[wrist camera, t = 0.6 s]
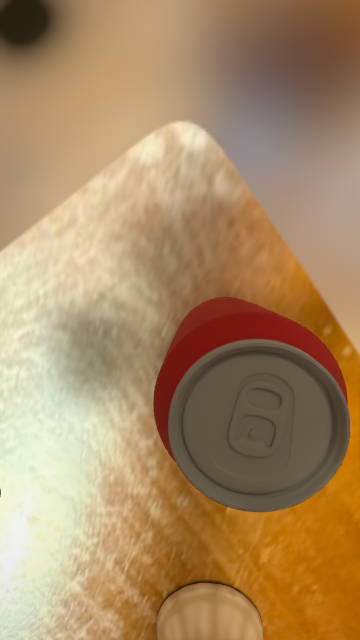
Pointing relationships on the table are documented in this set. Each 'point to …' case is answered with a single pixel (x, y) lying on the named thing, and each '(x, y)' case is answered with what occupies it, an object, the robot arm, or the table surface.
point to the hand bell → (208, 615)
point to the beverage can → (251, 406)
